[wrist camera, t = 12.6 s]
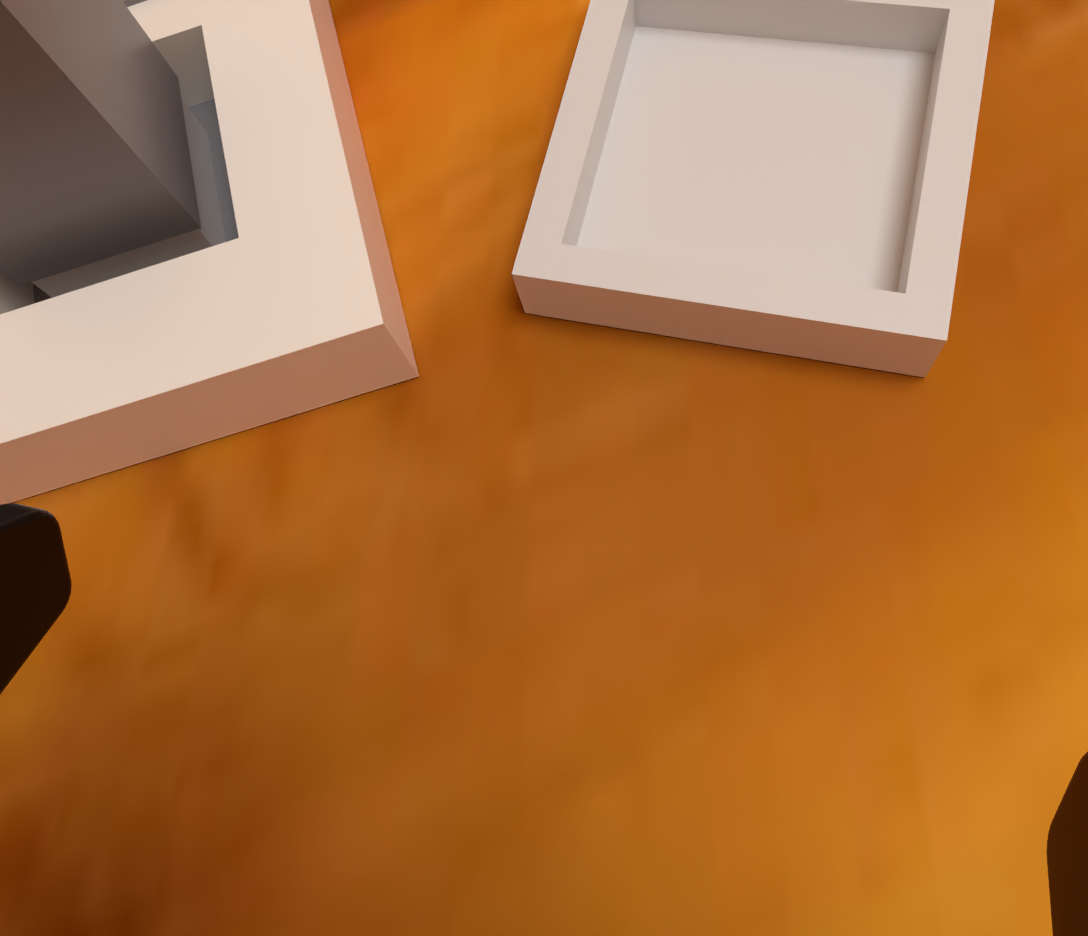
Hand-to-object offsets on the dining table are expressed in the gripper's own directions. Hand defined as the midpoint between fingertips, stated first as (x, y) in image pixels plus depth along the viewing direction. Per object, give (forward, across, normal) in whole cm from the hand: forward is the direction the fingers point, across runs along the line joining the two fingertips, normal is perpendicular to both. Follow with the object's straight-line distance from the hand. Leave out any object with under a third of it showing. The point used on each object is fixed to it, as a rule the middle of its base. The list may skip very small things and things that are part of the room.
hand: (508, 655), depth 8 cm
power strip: (+20, +18, 0) cm, 26 cm away
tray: (+20, 0, -1) cm, 20 cm away
